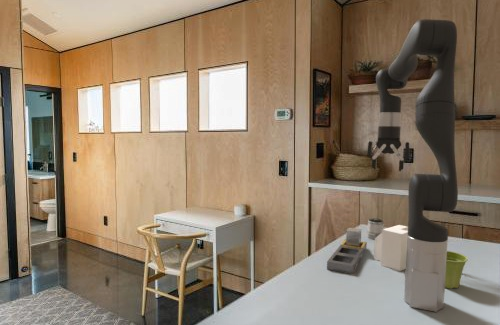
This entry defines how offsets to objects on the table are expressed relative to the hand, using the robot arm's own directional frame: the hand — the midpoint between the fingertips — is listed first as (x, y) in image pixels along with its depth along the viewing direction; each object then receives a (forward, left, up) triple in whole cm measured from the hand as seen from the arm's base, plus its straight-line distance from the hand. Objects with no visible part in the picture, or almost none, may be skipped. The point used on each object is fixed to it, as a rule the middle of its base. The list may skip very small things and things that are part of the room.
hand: (387, 170), depth 132 cm
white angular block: (-11, -4, -30) cm, 33 cm away
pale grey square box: (-5, +10, -30) cm, 32 cm away
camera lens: (+17, +5, -30) cm, 35 cm away
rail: (-14, +10, -30) cm, 35 cm away
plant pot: (-23, -20, -30) cm, 43 cm away
